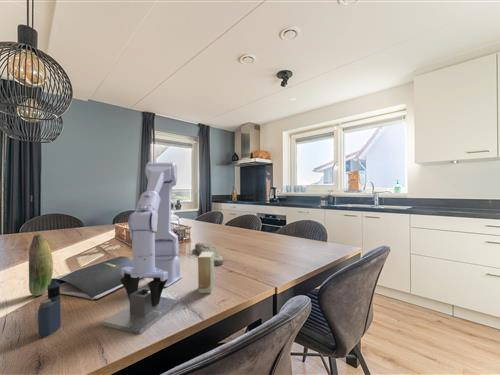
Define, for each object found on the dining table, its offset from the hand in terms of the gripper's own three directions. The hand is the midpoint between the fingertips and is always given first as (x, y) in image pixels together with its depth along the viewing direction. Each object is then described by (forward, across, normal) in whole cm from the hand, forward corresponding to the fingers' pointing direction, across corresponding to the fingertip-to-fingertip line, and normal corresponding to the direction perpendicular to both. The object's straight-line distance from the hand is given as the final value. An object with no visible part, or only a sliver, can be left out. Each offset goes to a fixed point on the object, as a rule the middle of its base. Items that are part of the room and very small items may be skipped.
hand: (144, 302), depth 68 cm
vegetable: (+3, -41, -1) cm, 41 cm away
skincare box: (+3, +9, +19) cm, 21 cm away
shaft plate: (+3, 0, 0) cm, 3 cm away
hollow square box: (+2, 0, 0) cm, 2 cm away
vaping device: (+3, -16, -14) cm, 21 cm away
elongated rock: (+3, -10, +56) cm, 57 cm away
